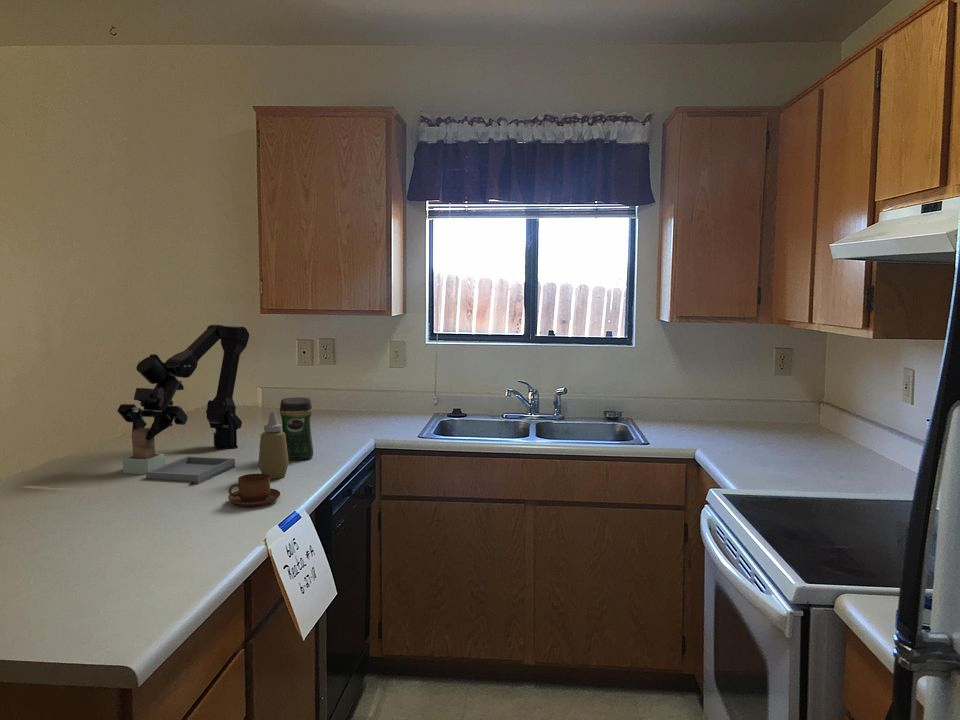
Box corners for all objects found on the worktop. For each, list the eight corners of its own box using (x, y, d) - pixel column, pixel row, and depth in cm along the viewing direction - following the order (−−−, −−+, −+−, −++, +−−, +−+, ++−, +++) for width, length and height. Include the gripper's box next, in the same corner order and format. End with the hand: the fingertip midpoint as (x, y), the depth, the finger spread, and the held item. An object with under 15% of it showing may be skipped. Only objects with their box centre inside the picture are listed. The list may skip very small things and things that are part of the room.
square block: (142, 461, 203) (141, 427, 202) (155, 461, 202) (154, 428, 201) (133, 464, 199) (131, 430, 198) (146, 465, 198) (145, 431, 197)
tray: (187, 464, 210) (187, 456, 210) (235, 466, 207) (234, 458, 207) (146, 481, 191) (146, 472, 191) (198, 484, 189) (197, 475, 188)
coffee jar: (313, 454, 224) (313, 395, 222) (312, 460, 216) (311, 399, 214) (281, 455, 222) (280, 395, 220) (279, 461, 214) (278, 399, 213)
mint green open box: (140, 468, 205) (140, 452, 205) (165, 469, 204) (164, 453, 203) (123, 474, 198) (122, 458, 197) (148, 476, 196) (147, 459, 196)
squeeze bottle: (295, 474, 199) (294, 410, 198) (277, 481, 192) (276, 415, 190) (270, 472, 202) (269, 408, 200) (252, 479, 194) (250, 413, 193)
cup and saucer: (251, 513, 166) (251, 486, 165) (217, 504, 172) (216, 479, 171) (291, 500, 176) (290, 475, 175) (257, 492, 182) (256, 468, 182)
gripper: (120, 375, 203) (94, 421, 194) (180, 377, 200) (157, 424, 191) (138, 399, 212) (115, 443, 202) (197, 401, 209) (176, 446, 199)
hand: (140, 439), depth 198 cm, fingers closed on square block, 4 cm apart
